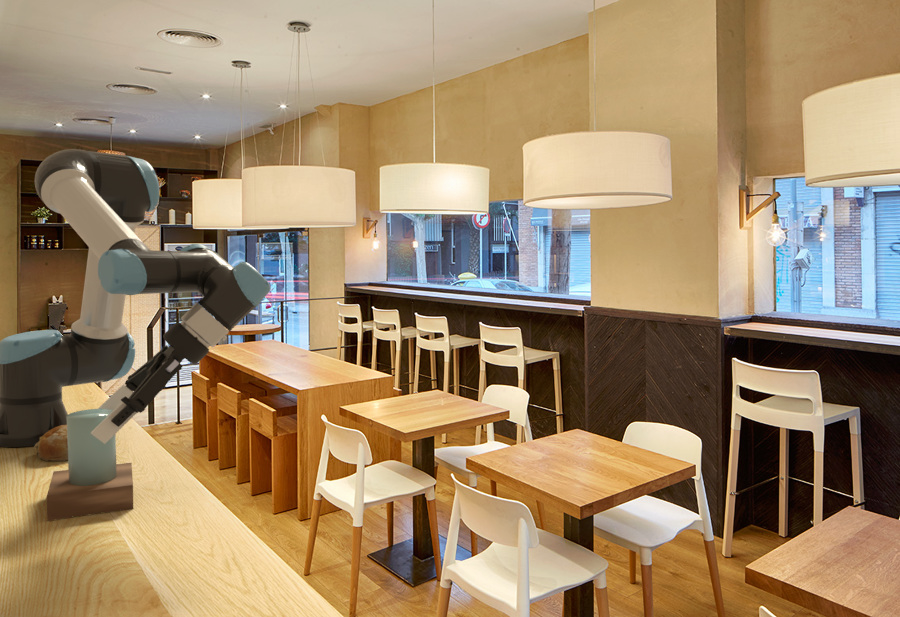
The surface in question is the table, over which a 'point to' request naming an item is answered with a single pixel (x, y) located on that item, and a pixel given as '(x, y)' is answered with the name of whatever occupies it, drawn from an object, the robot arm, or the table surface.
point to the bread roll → (53, 445)
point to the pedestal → (89, 495)
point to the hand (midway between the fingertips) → (99, 427)
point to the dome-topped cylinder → (89, 449)
